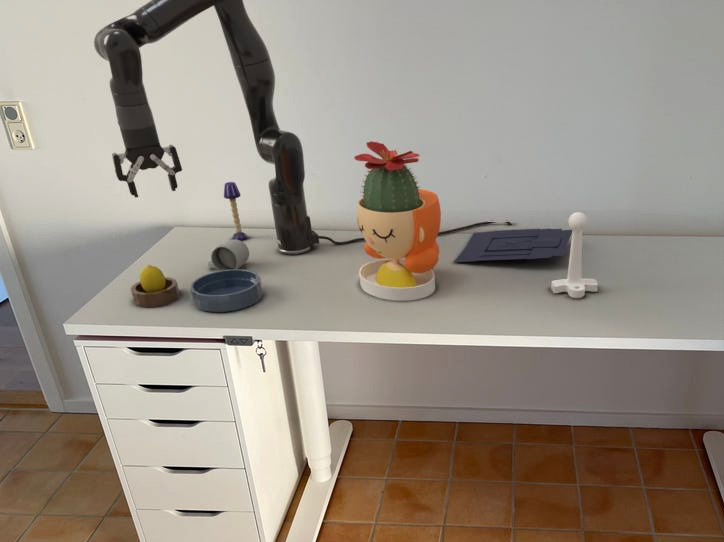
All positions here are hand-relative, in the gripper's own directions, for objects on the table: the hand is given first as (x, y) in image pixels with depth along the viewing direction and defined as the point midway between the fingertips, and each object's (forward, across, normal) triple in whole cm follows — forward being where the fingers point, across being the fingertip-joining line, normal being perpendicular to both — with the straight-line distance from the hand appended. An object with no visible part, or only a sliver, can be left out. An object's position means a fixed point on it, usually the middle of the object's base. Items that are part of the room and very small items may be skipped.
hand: (155, 193), depth 171 cm
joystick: (+26, +82, -59) cm, 105 cm away
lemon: (+23, -6, -6) cm, 25 cm away
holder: (+24, -6, -6) cm, 25 cm away
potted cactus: (+25, +49, -30) cm, 63 cm away
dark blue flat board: (+26, +85, -28) cm, 94 cm away
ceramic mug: (+25, +14, +4) cm, 28 cm away
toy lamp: (+25, +23, +26) cm, 43 cm away
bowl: (+24, +8, -16) cm, 30 cm away
